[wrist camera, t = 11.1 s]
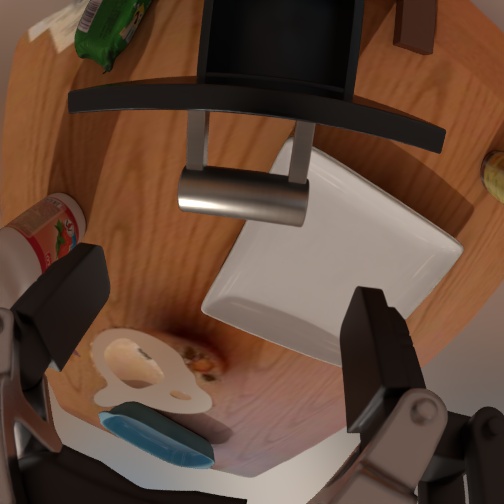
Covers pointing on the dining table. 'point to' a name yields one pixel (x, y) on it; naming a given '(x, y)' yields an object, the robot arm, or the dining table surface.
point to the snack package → (108, 29)
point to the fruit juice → (37, 243)
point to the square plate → (328, 261)
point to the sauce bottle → (494, 174)
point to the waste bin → (283, 41)
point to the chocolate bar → (415, 25)
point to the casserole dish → (158, 435)
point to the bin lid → (263, 104)
